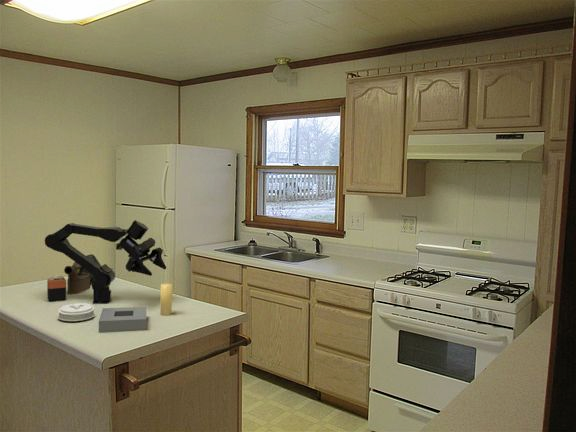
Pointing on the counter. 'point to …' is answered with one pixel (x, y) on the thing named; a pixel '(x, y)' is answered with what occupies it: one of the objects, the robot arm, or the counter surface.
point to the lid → (76, 312)
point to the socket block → (122, 319)
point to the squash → (88, 271)
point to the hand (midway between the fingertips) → (158, 271)
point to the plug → (166, 299)
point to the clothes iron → (77, 279)
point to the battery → (56, 289)
